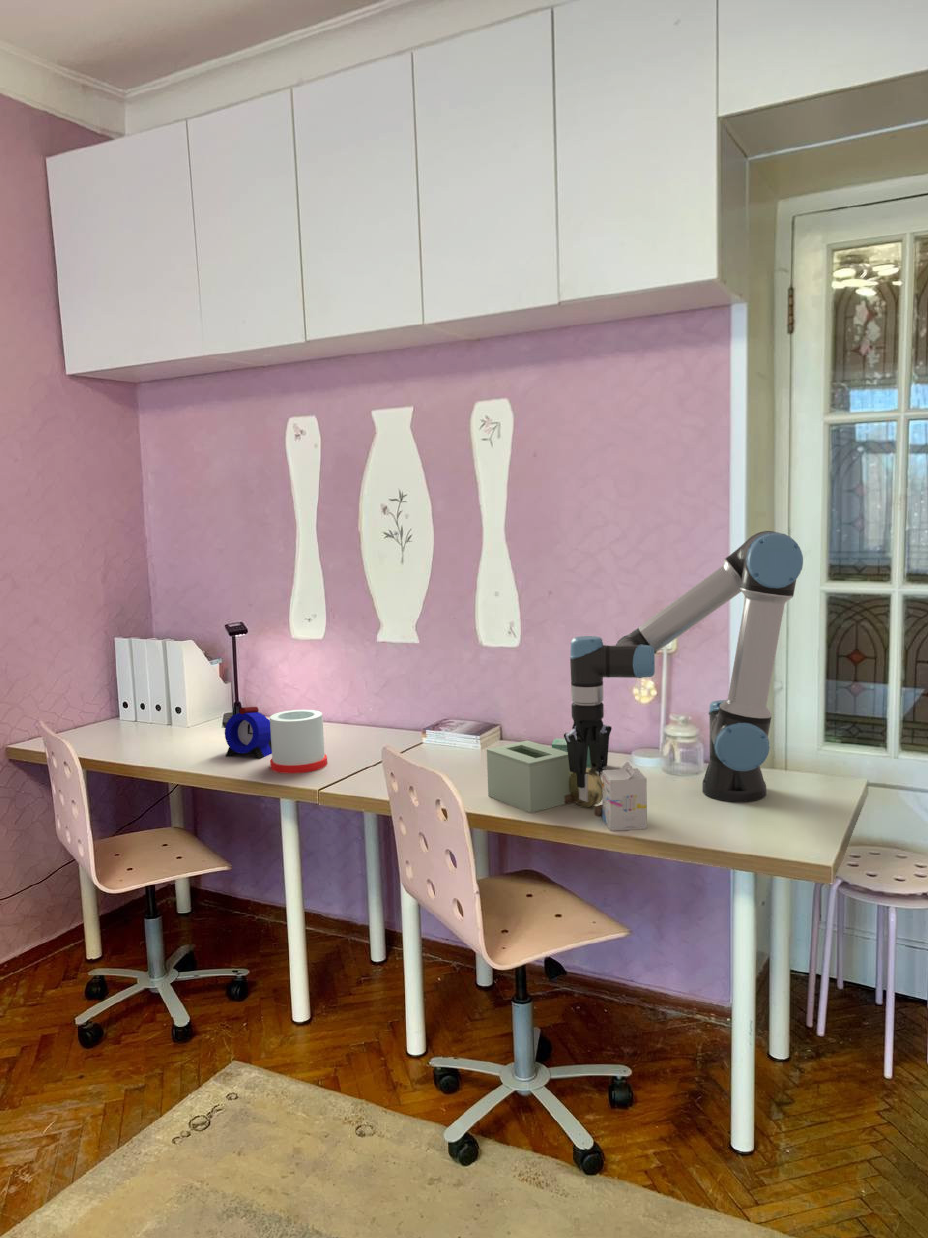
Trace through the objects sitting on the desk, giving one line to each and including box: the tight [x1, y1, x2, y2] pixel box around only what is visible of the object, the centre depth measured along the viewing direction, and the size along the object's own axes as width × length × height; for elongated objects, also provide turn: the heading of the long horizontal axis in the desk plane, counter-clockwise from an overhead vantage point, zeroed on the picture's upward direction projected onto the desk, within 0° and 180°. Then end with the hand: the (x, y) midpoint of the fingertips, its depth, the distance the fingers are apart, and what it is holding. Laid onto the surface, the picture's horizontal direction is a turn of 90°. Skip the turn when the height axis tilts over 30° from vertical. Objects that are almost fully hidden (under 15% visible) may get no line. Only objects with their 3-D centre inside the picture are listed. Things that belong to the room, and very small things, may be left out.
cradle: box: [564, 794, 603, 818], centre depth 227 cm, size 14×6×2 cm, turn 35°
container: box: [269, 709, 328, 774], centre depth 271 cm, size 16×16×15 cm
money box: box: [486, 740, 573, 814], centre depth 234 cm, size 17×13×12 cm
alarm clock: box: [224, 706, 272, 760], centre depth 286 cm, size 12×12×15 cm
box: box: [551, 737, 603, 768], centre depth 260 cm, size 7×14×8 cm, turn 78°
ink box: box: [602, 761, 648, 832], centre depth 214 cm, size 9×8×13 cm
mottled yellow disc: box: [569, 768, 603, 808], centre depth 227 cm, size 3×9×9 cm, turn 35°
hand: (589, 798), depth 227 cm, fingers closed on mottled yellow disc, 2 cm apart
